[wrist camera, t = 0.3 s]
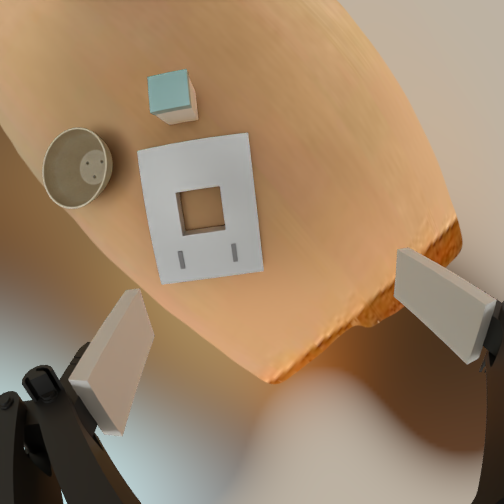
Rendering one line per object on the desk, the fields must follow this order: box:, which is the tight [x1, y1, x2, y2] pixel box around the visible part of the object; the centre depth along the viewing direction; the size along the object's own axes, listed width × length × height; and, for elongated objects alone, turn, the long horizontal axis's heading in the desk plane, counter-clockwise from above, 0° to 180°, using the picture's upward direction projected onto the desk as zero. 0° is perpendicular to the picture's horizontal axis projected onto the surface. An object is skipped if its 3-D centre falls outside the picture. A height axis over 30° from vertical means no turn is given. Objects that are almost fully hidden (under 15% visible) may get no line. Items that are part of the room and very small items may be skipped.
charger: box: [147, 69, 199, 125], centre depth 29 cm, size 4×4×10 cm
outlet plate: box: [137, 133, 264, 284], centre depth 36 cm, size 18×14×3 cm
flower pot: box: [42, 127, 113, 209], centre depth 31 cm, size 10×10×7 cm
